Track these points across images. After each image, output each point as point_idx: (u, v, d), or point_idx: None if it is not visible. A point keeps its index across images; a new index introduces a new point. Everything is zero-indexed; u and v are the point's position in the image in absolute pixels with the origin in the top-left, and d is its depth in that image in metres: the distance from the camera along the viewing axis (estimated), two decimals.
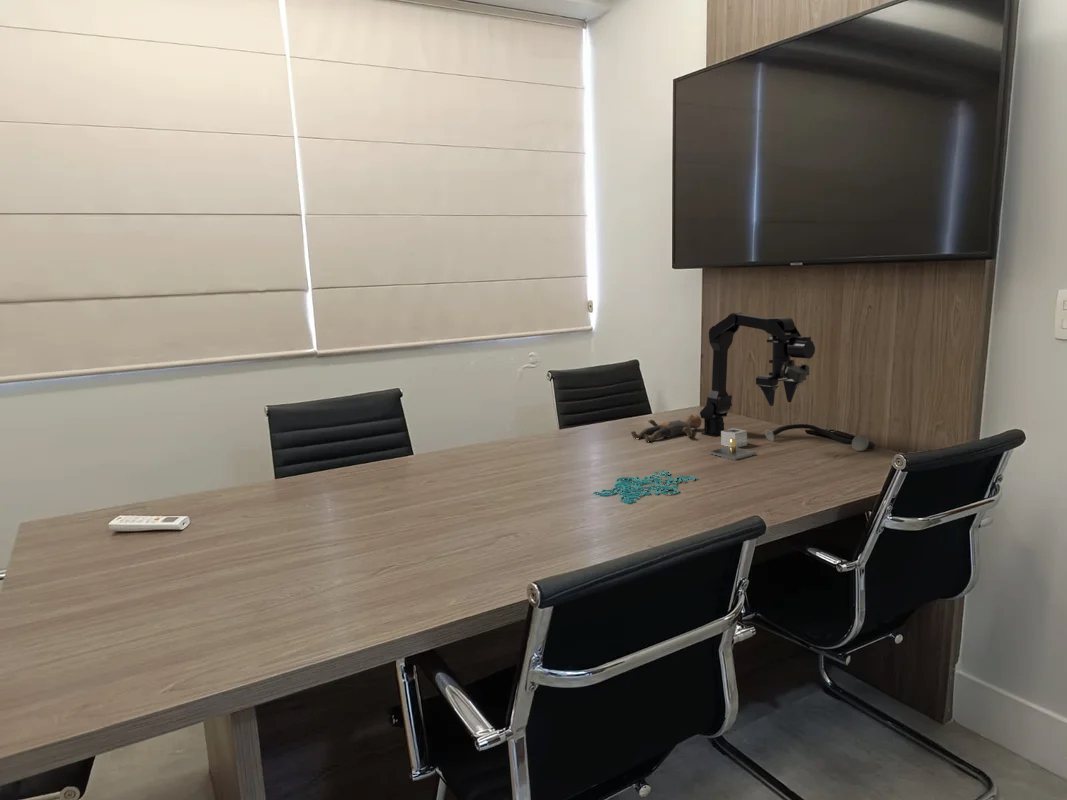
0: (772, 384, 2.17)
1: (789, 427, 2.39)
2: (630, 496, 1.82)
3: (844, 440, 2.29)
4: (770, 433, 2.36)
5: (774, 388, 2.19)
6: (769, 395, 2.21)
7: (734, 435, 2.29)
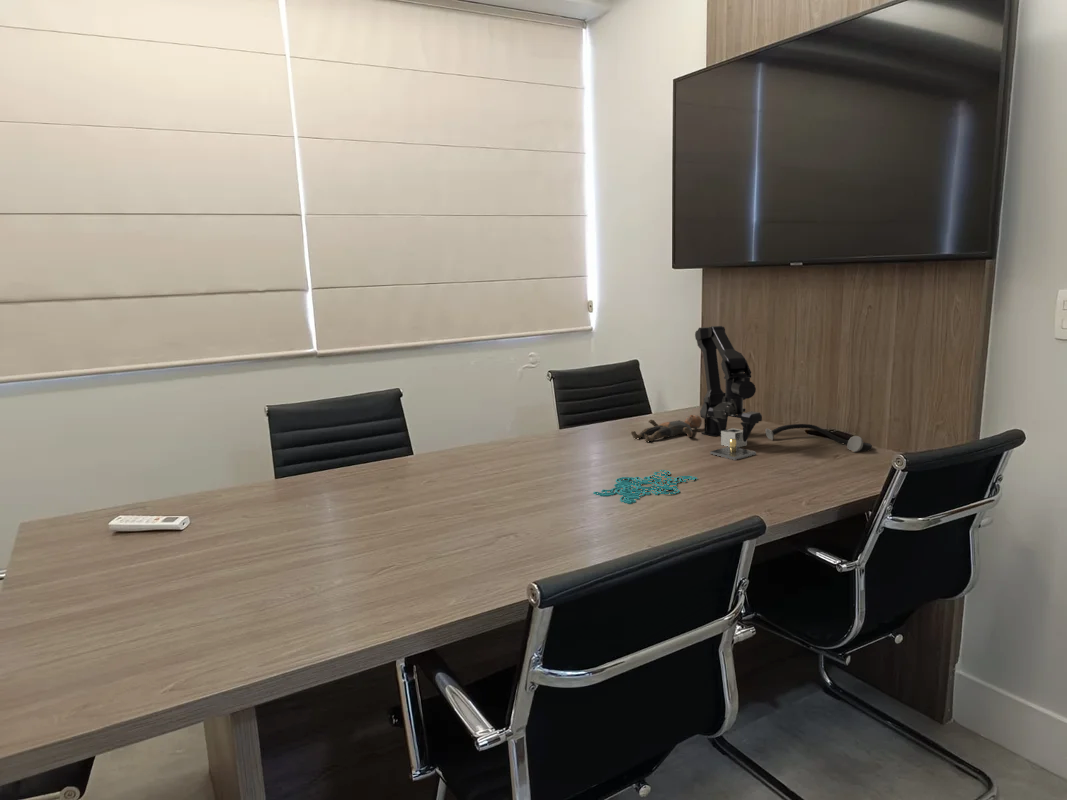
0: (708, 414, 2.37)
1: (790, 427, 2.40)
2: (630, 496, 1.82)
3: (843, 441, 2.28)
4: (769, 432, 2.38)
5: (714, 419, 2.36)
6: None
7: (734, 435, 2.29)
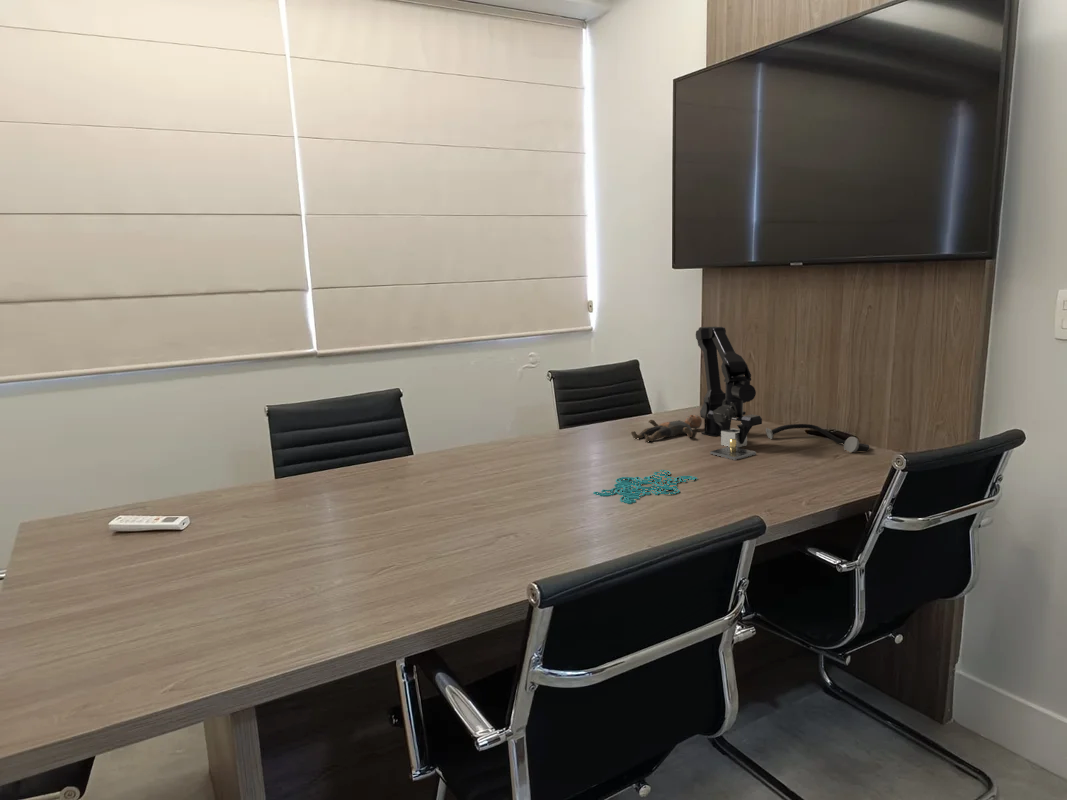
0: (708, 417, 2.37)
1: (791, 426, 2.40)
2: (630, 496, 1.82)
3: (842, 442, 2.27)
4: (769, 431, 2.39)
5: (717, 423, 2.35)
6: None
7: (734, 435, 2.29)
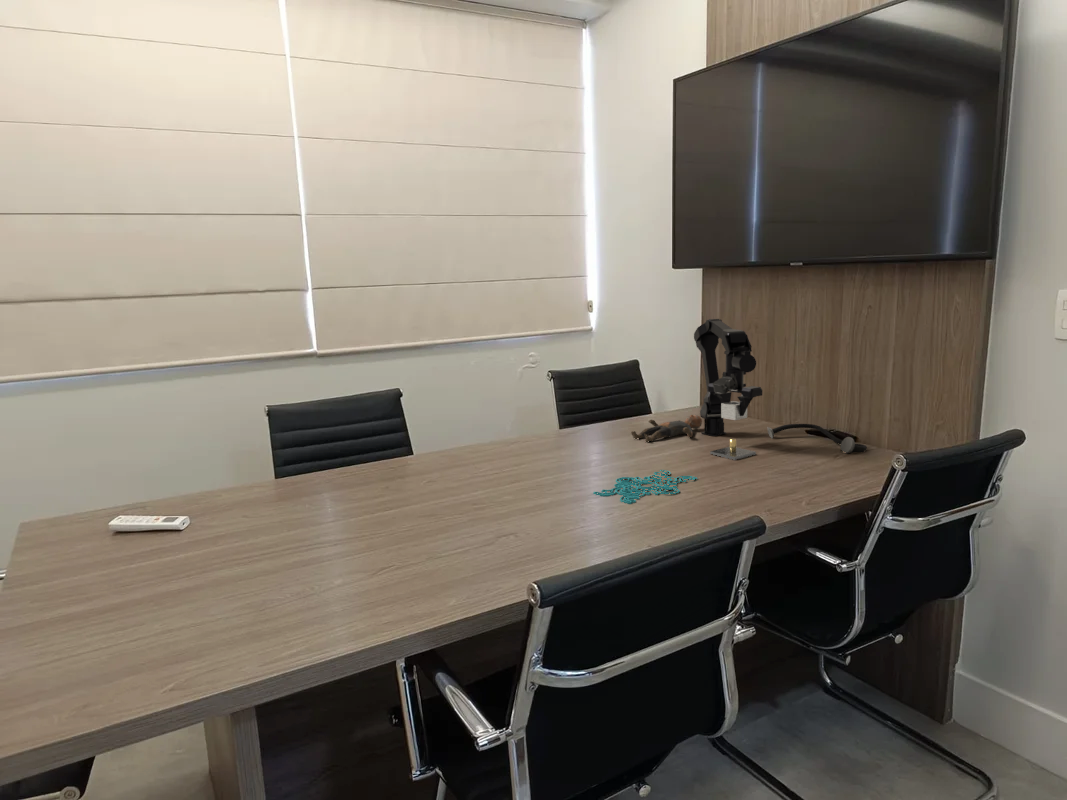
0: (709, 390, 2.35)
1: (792, 426, 2.41)
2: (630, 496, 1.82)
3: (841, 442, 2.27)
4: (770, 430, 2.40)
5: (717, 395, 2.33)
6: None
7: (734, 407, 2.27)
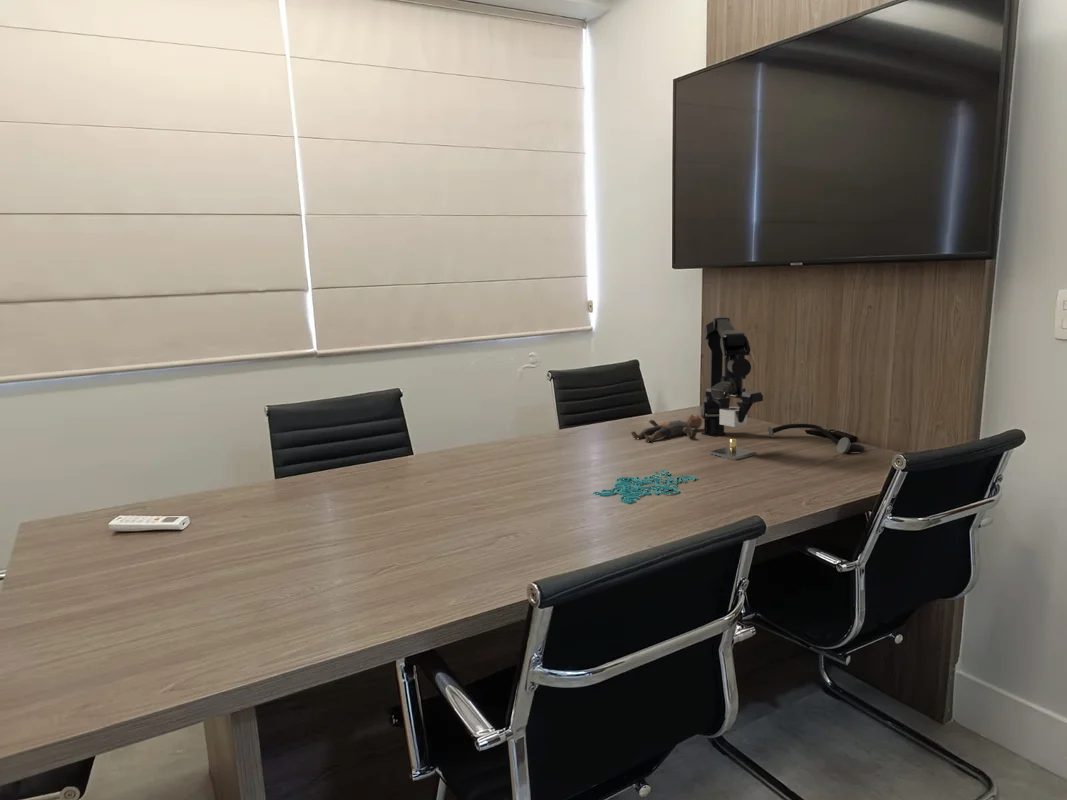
0: (706, 395, 2.24)
1: (793, 426, 2.41)
2: (630, 496, 1.82)
3: None
4: (770, 430, 2.41)
5: (716, 401, 2.21)
6: None
7: (733, 413, 2.15)
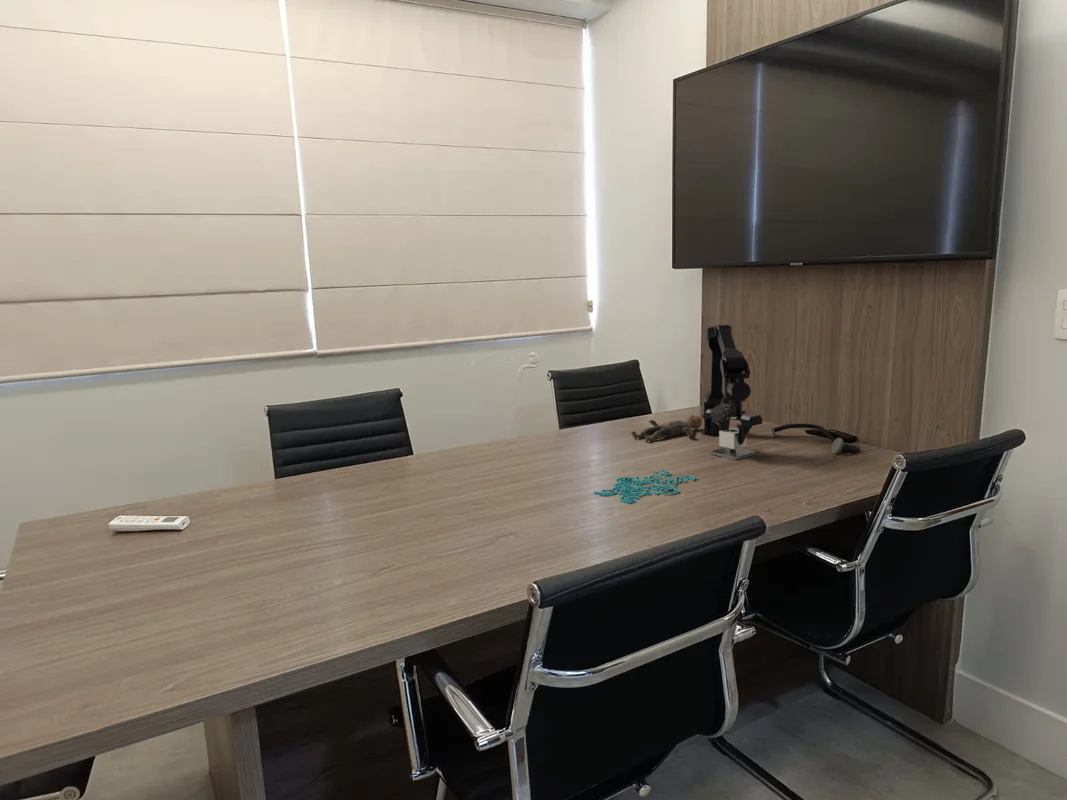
0: (706, 416, 2.25)
1: (795, 425, 2.41)
2: (630, 496, 1.82)
3: None
4: (771, 429, 2.43)
5: (715, 422, 2.23)
6: None
7: (733, 435, 2.17)
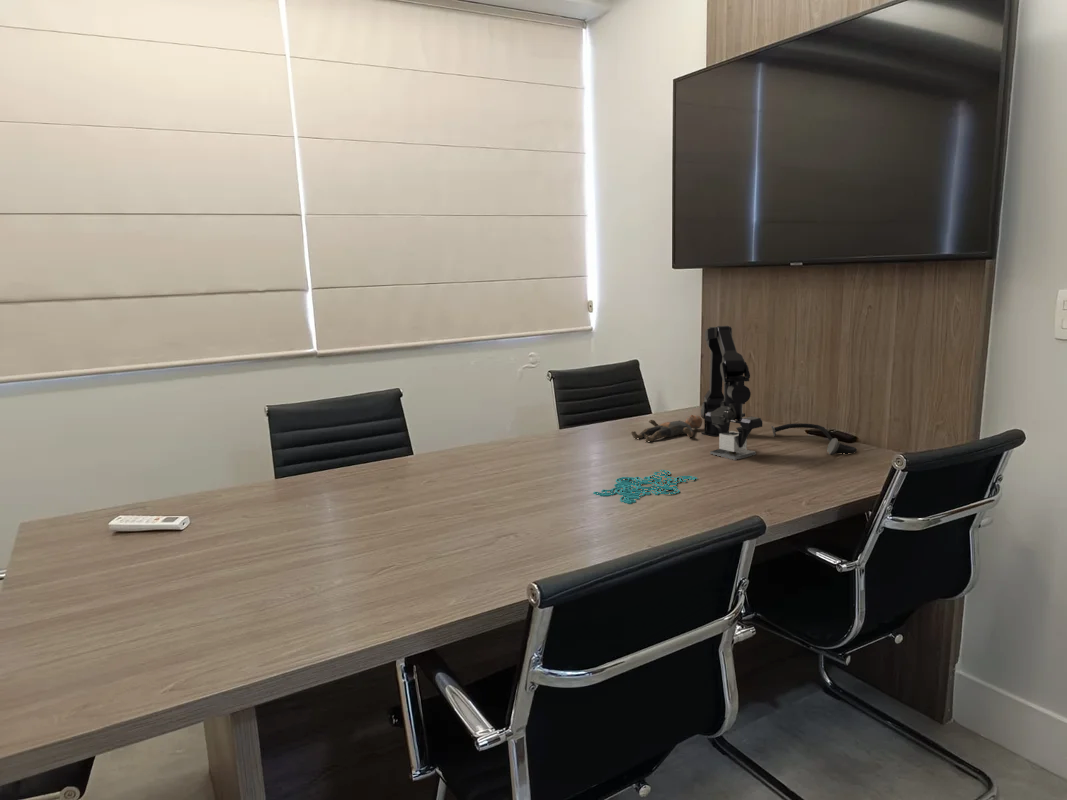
0: (706, 419, 2.25)
1: (796, 425, 2.41)
2: (630, 496, 1.82)
3: None
4: (772, 428, 2.43)
5: (715, 425, 2.23)
6: None
7: (733, 438, 2.17)
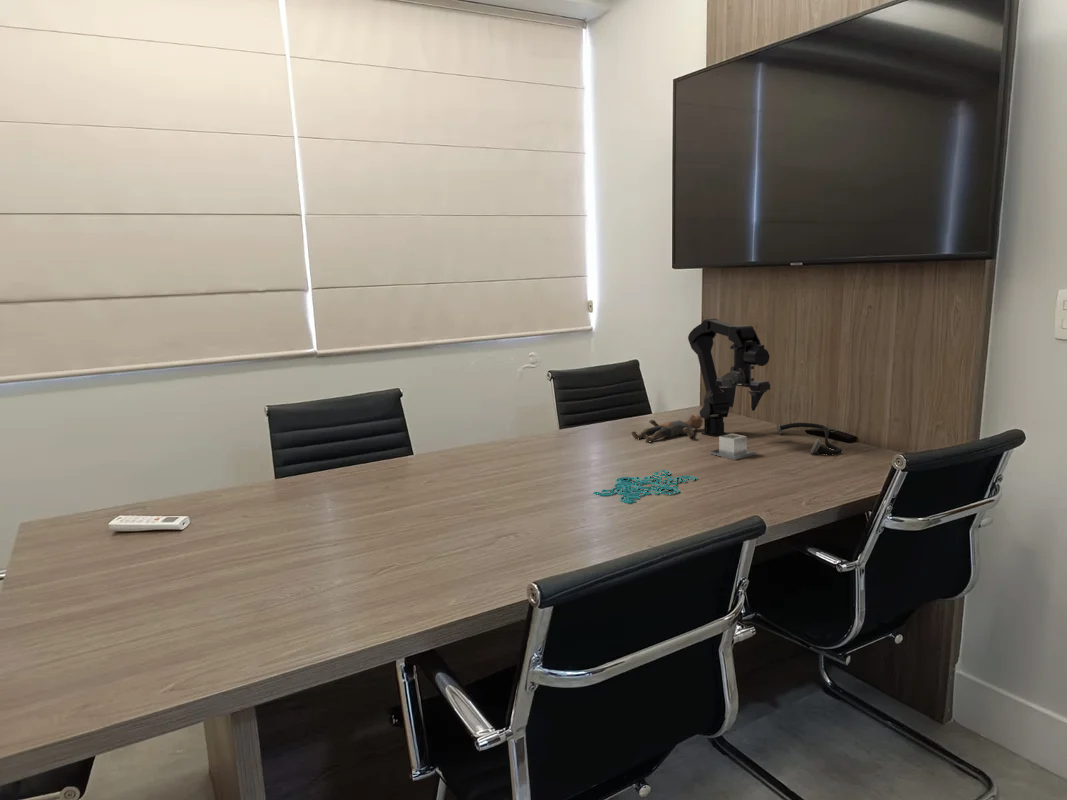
0: (716, 384, 2.37)
1: (802, 424, 2.42)
2: (630, 496, 1.82)
3: (826, 444, 2.25)
4: None
5: (722, 389, 2.37)
6: None
7: (733, 441, 2.17)
